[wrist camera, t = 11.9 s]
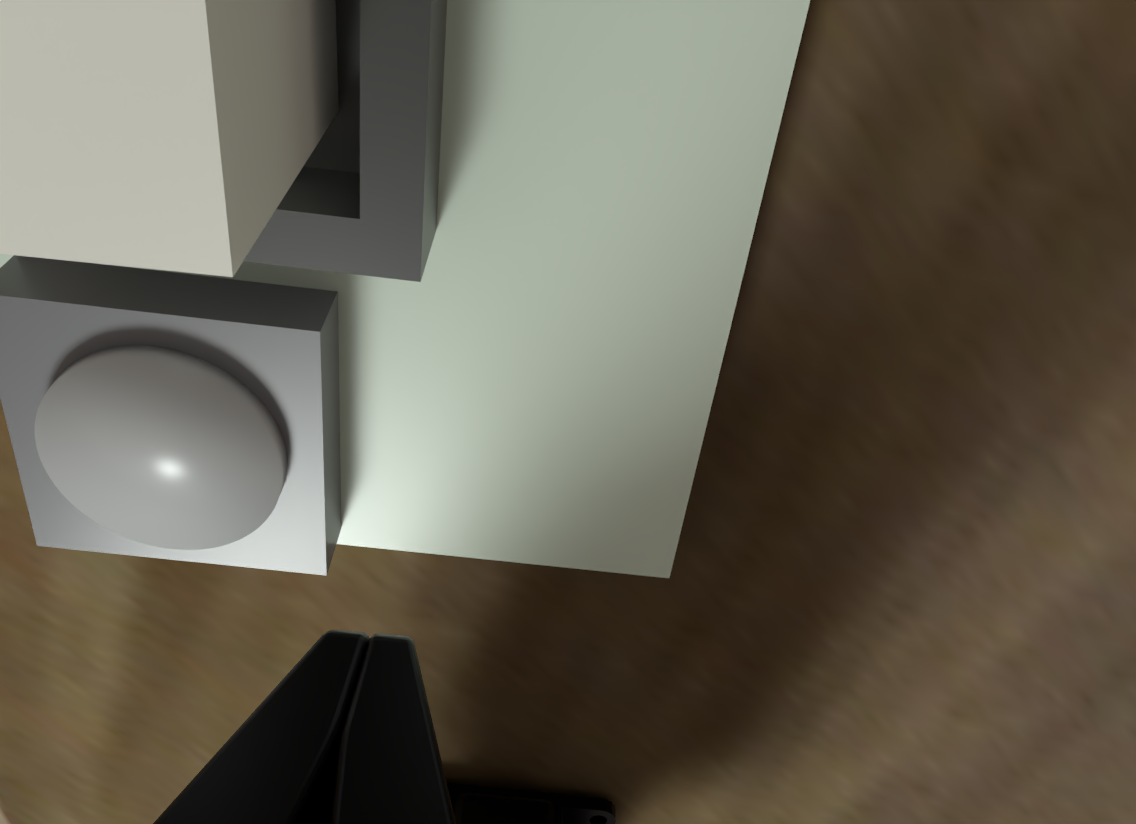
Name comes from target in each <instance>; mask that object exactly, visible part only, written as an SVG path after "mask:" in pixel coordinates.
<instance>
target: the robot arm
mask: <svg viewBox="0 0 1136 824" xmlns="http://www.w3.org/2000/svg"><path fill="white" fill-rule="evenodd" d="M153 824H615V805H614V804H613V803H612V802H611V801H609V800H607V799H602V798H594V797H583V796H572V795H561V794H551V793H540V792H529V791H518V790H508V789H497V788H486V787H475V786H464V785H454V784H447V783H446V778H445V774H444V770H443V766H442V761H441V757H440V753H439V748H438V744H437V740H436V735H435V731H434V727H433V722H432V718H431V714H430V709H429V705H428V701H427V696H426V692H425V688H424V683H423V679H422V675H421V670H420V666H419V662H418V657H417V653H416V649H415V645H414V642H413V640H412V639H411V638H410V637H407V636H398V635H387V634H375V635H373V636H372V637H371V638H369V636H368V635H367V634H365V633H363V632H352V631H341V630H330V631H328V632H326V633H325V634H324V635H323V636H322V637H321V638H320V639H319V640H318V641H317V642H316V643H315V644H314V645H313V646H312V648H311V649H310V650H309V651H308V652H307V653H306V654H305V655H304V656H303V658H302V659H301V660H300V661H299V662H298V663H297V664H296V665H295V666H294V668H293V669H292V670H291V671H290V672H289V673H288V674H287V675H286V676H285V678H284V679H283V680H282V681H281V682H280V683H279V684H278V685H277V686H276V688H275V689H274V690H273V691H272V692H271V693H270V694H269V695H268V697H267V698H266V699H265V700H264V701H263V702H262V703H261V704H260V705H259V707H258V708H257V709H256V710H255V711H254V712H253V713H252V714H251V715H250V717H249V718H248V719H247V720H246V721H245V722H244V723H243V724H242V725H241V727H240V728H239V729H238V730H237V731H236V732H235V733H234V734H233V735H232V737H231V738H230V739H229V740H228V741H227V742H226V743H225V744H224V745H223V747H222V748H221V749H220V750H219V751H218V752H217V753H216V754H215V755H214V757H213V758H212V759H211V760H210V761H209V762H208V763H207V764H206V765H205V767H204V768H203V769H202V770H201V771H200V772H199V773H198V774H197V775H196V777H195V778H194V779H193V780H192V781H191V782H190V783H189V784H188V785H187V787H186V788H185V789H184V790H183V791H182V792H181V793H180V794H179V795H178V797H177V798H176V799H175V800H174V801H173V802H172V803H171V804H170V805H169V807H168V808H167V809H166V810H165V811H164V812H163V813H162V814H161V815H160V817H159V818H158V819H157V820H156V821H155V822H154V823H153Z"/></svg>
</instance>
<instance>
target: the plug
mask: <svg viewBox="0 0 1136 824" xmlns="http://www.w3.org/2000/svg"><path fill="white" fill-rule="evenodd" d="M338 111H339V103H338V69H337V36H336V2H335V0H0V254H7V255H17V256H27V257H37V258H47V259H57V260H67V261H77V262H87V263H97V264H106V265H116V266H126V267H136V268H146V269H156V270H166V271H176V272H186V273H196V274H206V275H216V276H226V277H233V276H234V275H235V273H236V272H237V270H238V268H239V267H240V265H241V264H242V262H243V261H244V259H245V257H246V256H247V254H248V253H249V251H250V250H251V248H252V246H253V245H254V243H255V242H256V240H257V239H258V237H259V235H260V234H261V232H262V231H263V229H264V227H265V226H266V224H267V223H268V221H269V220H270V218H271V216H272V215H273V213H274V212H275V210H276V209H277V207H278V205H279V204H280V202H281V201H282V199H283V198H284V196H285V194H286V193H287V191H288V190H289V188H290V187H291V185H292V183H293V182H294V180H295V179H296V177H297V176H298V174H299V172H300V171H301V169H302V168H303V166H304V164H305V163H306V161H307V160H308V158H309V157H310V155H311V153H312V152H313V150H314V149H315V147H316V146H317V144H318V142H319V141H320V139H321V138H322V136H323V135H324V133H325V131H326V130H327V128H328V127H329V125H330V124H331V122H332V120H333V119H334V117H335V116H336V114H337V113H338Z"/></svg>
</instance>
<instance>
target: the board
mask: <svg viewBox="0 0 1136 824" xmlns="http://www.w3.org/2000/svg"><path fill="white" fill-rule="evenodd" d="M335 2H336V36H337V69H338V103H339V111H338V113H337V114H336V116H335V117H334V119H333V120H332V122H331V124H330V125H329V127H328V128H327V130H326V131H325V133H324V135H323V136H322V138H321V139H320V141H319V142H318V144H317V146H316V147H315V149H314V150H313V152H312V153H311V155H310V157H309V158H308V160H307V161H306V163H305V164H304V166H303V168H302V169H301V171H300V172H299V174H298V176H297V177H296V179H295V180H294V182H293V183H292V185H291V187H290V188H289V190H288V191H287V193H286V194H285V196H284V198H283V199H282V201H281V202H280V204H279V205H278V207H277V209H276V210H275V212H274V213H273V215H272V216H271V218H270V220H269V221H268V223H267V224H266V226H265V227H264V229H263V231H262V232H261V234H260V235H259V237H258V239H257V240H256V242H255V243H254V245H253V246H252V248H251V250H250V251H249V253H248V254H247V256H246V257H245V259H244V261H243V262H242V264H241V265H240V267H239V268H238V270H237V272H236V273H235V275H234V276H233V277H226V276H216V275H206V274H196V273H186V272H176V271H166V270H156V269H146V268H136V267H126V266H116V265H106V264H97V263H87V262H77V261H67V260H57V259H47V258H37V257H27V256H17V255H7V254H0V398H1V402H2V406H3V410H4V414H5V418H6V422H7V426H8V430H9V434H10V438H11V442H12V446H13V450H14V454H15V458H16V462H17V466H18V470H19V474H20V478H21V482H22V486H23V491H24V495H25V499H26V503H27V507H28V511H29V515H30V519H31V523H32V527H33V531H34V535H35V539H36V543H37V546H44V547H54V548H63V549H73V550H83V551H93V552H103V553H112V554H122V555H132V556H142V557H152V558H161V559H171V560H181V561H191V562H201V563H210V564H220V565H230V566H240V567H250V568H259V569H269V570H279V571H289V572H299V573H308V574H318V575H327V572H328V569H329V566H330V563H331V559H332V556H333V553H334V550H335V547H336V544H343V545H352V546H362V547H372V548H381V549H391V550H401V551H410V552H420V553H430V554H439V555H449V556H459V557H468V558H478V559H487V560H497V561H507V562H516V563H526V564H536V565H545V566H555V567H565V568H574V569H584V570H594V571H603V572H613V573H623V574H632V575H642V576H652V577H661V578H670V574H671V569H672V565H673V561H674V557H675V553H676V549H677V545H678V541H679V537H680V533H681V528H682V524H683V520H684V516H685V512H686V508H687V504H688V500H689V496H690V492H691V488H692V483H693V479H694V475H695V471H696V467H697V463H698V459H699V455H700V451H701V447H702V442H703V438H704V434H705V430H706V426H707V422H708V418H709V414H710V410H711V406H712V401H713V397H714V393H715V389H716V385H717V381H718V377H719V373H720V369H721V365H722V360H723V356H724V352H725V348H726V344H727V340H728V336H729V332H730V328H731V324H732V319H733V315H734V311H735V307H736V303H737V299H738V295H739V291H740V287H741V283H742V278H743V274H744V270H745V266H746V262H747V258H748V254H749V250H750V246H751V242H752V237H753V233H754V229H755V225H756V221H757V217H758V213H759V209H760V205H761V201H762V197H763V192H764V188H765V184H766V180H767V176H768V172H769V168H770V164H771V160H772V156H773V151H774V147H775V143H776V139H777V135H778V131H779V127H780V123H781V119H782V115H783V110H784V106H785V102H786V98H787V94H788V90H789V86H790V82H791V78H792V74H793V69H794V65H795V61H796V57H797V53H798V49H799V45H800V41H801V37H802V33H803V28H804V24H805V20H806V16H807V12H808V8H809V4H810V0H335Z"/></svg>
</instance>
